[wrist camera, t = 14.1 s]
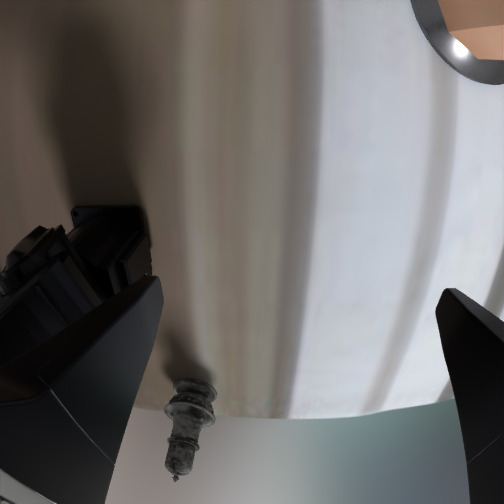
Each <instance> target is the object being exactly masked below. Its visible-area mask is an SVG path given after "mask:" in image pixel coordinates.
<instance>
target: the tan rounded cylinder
mask: <svg viewBox="0 0 504 504" xmlns="http://www.w3.org/2000/svg"><path fill="white" fill-rule="evenodd" d="M438 3H439V6H440V8H441V11H442V14H443V17H444V20H445V23H446V26H447V29H448V32H449V33H450V34H451V35H452V36H454V37H455V38H456V39H457V40H458V41H459V42H460V43H461V44H462V45H464V46H465V47H466V48H467V49H468V50H469V51H470V52H471V53H472V54H473V55H474V56H475V57H476V58H477V59H490V60H504V0H438Z"/></svg>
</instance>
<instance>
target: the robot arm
mask: <svg viewBox="0 0 504 504" xmlns="http://www.w3.org/2000/svg"><path fill="white" fill-rule="evenodd" d="M133 211H135V212H136V213H137V215H135V214H134V213H133ZM76 212H77V213H78V214H77V213H76ZM71 216H72V220H73V225H74V228H73V229H72V230H71V231H70V232H69V233H68V234H67V235H66V234H65V229H64V228H63V226H62V224H61V225H59V226H58V227H56V228H53V227H52V228H50V229H46V228H44V227H42V226H40V225H39V226H38V227H37V228H35V229H34V230H33V231H31V232H30V233H29V234H28V235H27V236H26V237H24V238H23V239H22V240H21V241H20V242H19V243H18V244H17V245H16V246H15V247H14V248H13V250H12V251H11V252H10V253H9V254H8V255H7V258H6V266H5V267H4V269H3V271H2V273H1V274H0V504H105V500H106V496H107V492H108V489H109V485H110V481H111V478H112V474H113V470H114V467H115V466H114V464H115V463H116V459H117V456H118V453H119V449H120V445H121V442H122V439H123V436H124V433H125V429H126V426H127V422H128V420H129V417H130V414H131V410H132V407H133V404H134V401H135V398H136V395H137V392H138V389H139V386H140V383H141V380H142V377H143V374H144V372H145V369H146V366H147V363H148V360H149V357H150V354H151V352H152V348H153V345H154V341H155V337H156V333H157V329H158V324H159V320H160V316H161V312H162V308H163V303H164V298H163V292H162V287H161V282H160V278H159V277H158V276H152V271H151V265H150V264H151V262H152V259H151V253H150V248H149V242H148V235H147V234H146V232H145V231H144V224H143V218H142V211H141V209H140V208H139V207H138V206H76V207H74V208H73V209H72V210H71ZM145 273H146V274H147V275H145ZM435 313H436V319H437V324H438V328H439V333H440V338H441V344H442V349H443V353H444V357H445V361H446V365H447V368H448V372H449V376H450V380H451V384H452V388H453V392H454V397H455V400H456V406H457V410H458V415H459V420H460V426H461V431H462V437H463V442H464V449H465V456H466V463H467V473H468V483H469V495H470V504H504V322H503V321H502V320H500V319H499V318H498V317H496V316H495V315H494V314H492V313H491V312H489V311H488V310H487V309H485V308H484V307H482V306H481V305H479V304H478V303H477V302H475V301H474V300H472V299H471V298H469V297H468V296H466V295H465V294H464V293H462V292H461V291H459V290H458V289H456V288H446V289H444V291H443V292H442V295H441V297H440V300H439V302H438V304H437V307H436V312H435Z"/></svg>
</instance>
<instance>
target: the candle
mask: <svg viewBox="0 0 504 504" xmlns="http://www.w3.org/2000/svg"><path fill="white" fill-rule="evenodd" d="M411 3H412V7H413V10H414V13H415V16H416V19H417V21H418V23H419V25H420V28H421V29H422V31H423V33H424V35H425V37H426V38H427V40H428V41H429V43H430V44H431V46H432V47H433V48H434V49H435V51H436V52H437V53H438V54H439V55H440V56H441V58H442V59H443V60H444V61H445V62H446V63H447V64H449V65H450V66H451V67H452V68H453V69H455V70H456V71H457V72H459V73H460V74H462V75H463V76H465V77H467V78H469V79H471V80H473V81H476V82H479V83H484V84H491V85H500V84H504V60H490V59H477V58H476V57H475V56H474V55H473V54H472V53H471V52H470V51H469V50H468V49H467V48H466V47H465V46H464V45H462V44H461V43H460V42H459V41H458V40H457V39H456V38H455V37H454V36H452V35H451V34H450V33H449V32H448V29H447V26H446V23H445V20H444V17H443V14H442V11H441V8H440V6H439V3H438V0H411Z"/></svg>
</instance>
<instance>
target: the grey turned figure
mask: <svg viewBox="0 0 504 504" xmlns="http://www.w3.org/2000/svg"><path fill="white" fill-rule="evenodd" d="M173 389H174V391H175V393H176V394H177V395H175V396H174V397H173V398H172V399H171V400H170V402H169V404H167V405H166V406H165V408H164V412H165V414H166V415H167V416H168V417H169V418H170V419H171V420H173V429H172V433H171V437H170V438H168V439H167V443H168V444H169V448H168V452H167V456H166V461H165V467H166V469H167V470H168V471H169V472H171V473H172V474H173V475H174V477H173V480H174V482H176V481H177V480H179V478H178V477H179V476H181V475H182V476H183V475H187V474H189V473H190V472H191V470H192V465H193V460H194V455H195V451H197V450H199V448H200V447H199V445H198V438H199V433H200V431H201V429H202V428H205V427H209V426H211V425H213V424H214V423H215V416H214V415H213V414H214V411H213V408H212V405H211V402H213V401H214V400H215V399H216V398H217V392H216V390H215V389H214V388H213V387H212V386H210V385H209V384H207V383H205V382H202V381H199V380H195V379H181V380H178V381H177V382H175V384H174V386H173Z"/></svg>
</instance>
